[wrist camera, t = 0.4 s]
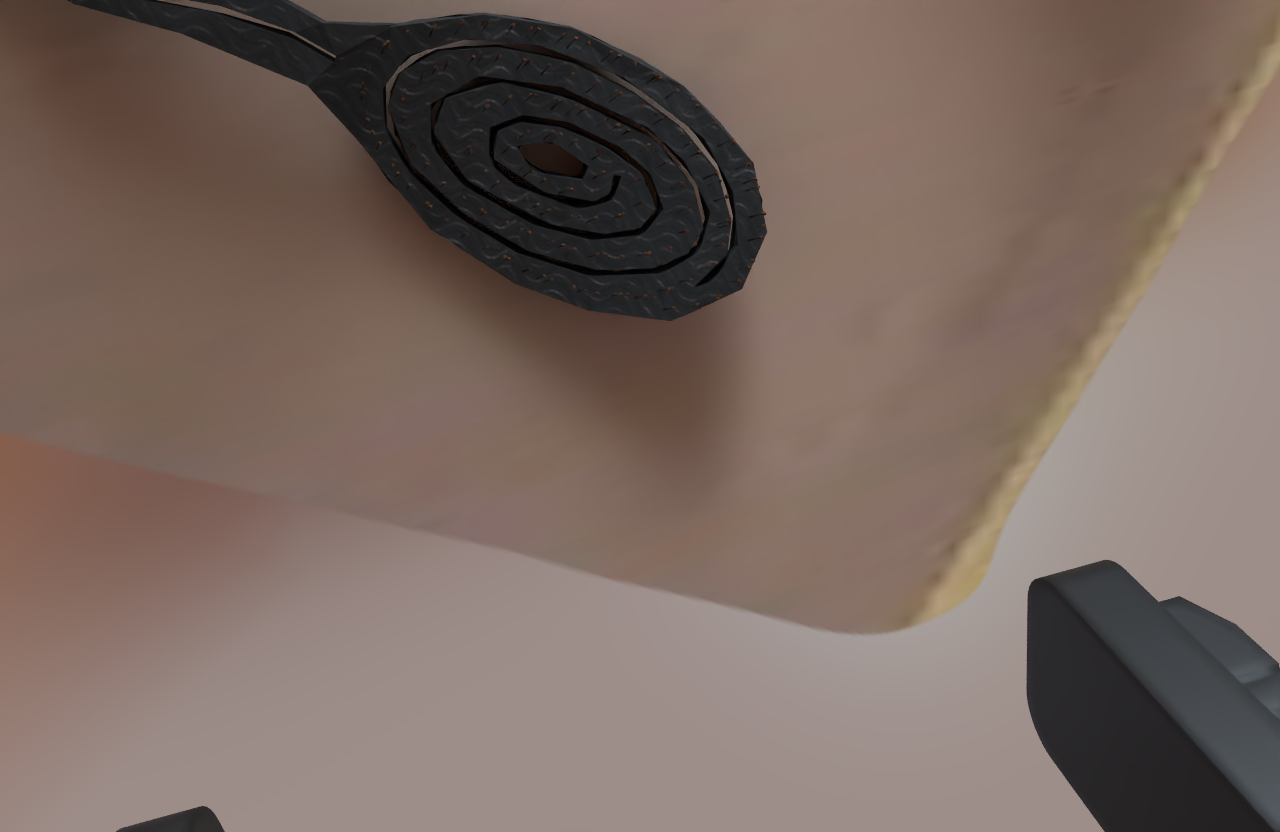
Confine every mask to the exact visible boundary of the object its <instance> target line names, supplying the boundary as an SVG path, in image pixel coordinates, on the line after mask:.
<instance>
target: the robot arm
mask: <svg viewBox="0 0 1280 832" xmlns="http://www.w3.org/2000/svg"><path fill="white" fill-rule="evenodd" d="M1027 700H1028V706H1029V710H1030V713H1031V717H1032V720H1033V723H1034V726H1035V729H1036V731H1037V733H1038V735H1039V738H1040V740H1041V742H1042V744H1043V746H1044V748H1045V749H1046V751H1047V753H1048V754H1049V756H1050V757H1051V758H1052V760H1053V761H1054V763H1055V764H1056V765H1057V767H1058V768H1059V770H1060V771H1061V772H1062V774H1063V775H1064V776H1065V778H1066V779H1067V781H1068V782H1069V783H1070V785H1071V786H1072V787H1073V789H1074V790H1075V791H1076V793H1077V794H1078V796H1079V797H1080V798H1081V800H1082V801H1083V803H1084V804H1085V805H1086V807H1087V808H1088V809H1089V811H1090V812H1091V814H1092V815H1093V816H1094V818H1095V819H1096V820H1097V822H1098V823H1099V825H1100V826H1101V827H1102V829H1103V830H1104V831H1105V832H1280V668H1279V663H1278V662H1277V661H1275V660H1274V659H1273V658H1272V657H1271V656H1270V655H1269V654H1268V653H1267V652H1265V650H1263V649H1262V648H1261V647H1260V646H1259V645H1258V644H1257V643H1256V642H1255V641H1254V640H1252V639H1251V638H1250V637H1249V636H1248V635H1247V634H1246V633H1245V632H1244V631H1243V630H1241V629H1240V628H1239V627H1238V626H1237V625H1236V624H1234V623H1232V622H1230V621H1228V620H1226V619H1224V618H1222V617H1220V616H1218V615H1216V614H1214V613H1212V612H1210V611H1208V610H1206V609H1204V608H1202V607H1200V606H1198V605H1196V604H1194V603H1192V602H1190V601H1188V600H1186V599H1184V598H1182V597H1175V598H1172V599H1168V600H1164V601H1161V602H1158V601H1157V600H1156V599H1155V598H1154V597H1153V596H1152V595H1151V594H1150V593H1149V592H1147V590H1145V589H1144V587H1143V586H1141V585H1140V584H1139V583H1138V582H1137V581H1136V580H1135V579H1134V578H1133V577H1132V576H1131V575H1130V574H1129V573H1128V572H1127V571H1126V570H1125V569H1124V568H1123V567H1122V566H1120V565H1119V564H1117V563H1116V562H1113V561H1110V560H1103V561H1099V562H1096V563H1092V564H1088V565H1085V566H1081V567H1078V568H1074V569H1070V570H1067V571H1063V572H1059V573H1056V574H1052V575H1048V576H1045V577H1041V578H1038V579H1035V580H1034V581H1033V582H1032V583H1031V585H1030V587H1029V591H1028V614H1027ZM116 832H224V830H223V828H222V826H221V824H220V822H219V820H218V819H217V817H216V815H215V814H214V813H213V812H212V811H211V810H210V809H209V808H208V807H205V806H201V807H197V808H193V809H190V810H186V811H182V812H179V813H175V814H171V815H168V816H164V817H161V818H157V819H153V820H150V821H146V822H142V823H139V824H135V825H132V826H128V827H124V828H121V829H119V830H118V831H116Z"/></svg>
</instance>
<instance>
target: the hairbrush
mask: <svg viewBox="0 0 1280 832" xmlns="http://www.w3.org/2000/svg"><path fill="white" fill-rule="evenodd" d="M68 1H70V2H71V3H73V4H77V5H80V6H84V7H87V8H91V9H95V10H98V11H102V12H105V13H109V14H113V15H116V16H120V17H123V18H127V19H131V20H134V21H138V22H141V23H145V24H149V25H152V26H156V27H160V28H163V29H167V30H171V31H174V32H178V33H181V34H184V35H186V36H188V37H191V38H193V39H196V40H198V41H201V42H203V43H205V44H208V45H210V46H213V47H215V48H218V49H220V50H222V51H225V52H227V53H230V54H232V55H235V56H237V57H239V58H242V59H244V60H247V61H249V62H251V63H254V64H256V65H259V66H261V67H264V68H266V69H268V70H271V71H273V72H276V73H278V74H281V75H283V76H285V77H288V78H290V79H293V80H295V81H298V82H300V83H302V84H305V85H307V86H308V87H309V88H310V89H311V90H312V91H313V92H314V93H315V94H316V95H317V96H318V98H319V99H320V100H321V101H322V102H323V103H324V104H325V105H326V106H327V107H328V108H329V109H330V111H331V112H332V113H333V114H334V115H335V116H336V117H337V118H338V119H339V120H340V121H341V122H342V124H343V125H344V126H345V127H346V128H347V129H348V130H349V131H350V132H351V133H352V134H353V135H354V137H355V138H356V139H357V140H358V141H359V142H360V144H361V145H362V146H363V147H364V149H365V150H366V151H367V152H368V153H369V155H370V156H371V157H372V158H373V160H374V161H375V162H376V163H377V165H378V166H379V168H380V169H381V171H382V172H383V173H384V175H385V176H386V178H387V179H388V181H389V182H390V183H392V184H393V185H394V186H395V187H396V188H397V189H398V190H399V191H400V192H401V194H402V195H403V196H404V197H405V199H406V200H407V201H408V202H409V203H410V205H411V206H412V207H413V208H414V210H415V211H416V212H417V213H418V214H419V216H420V217H421V218H422V219H423V221H424V222H425V223H426V224H427V225H428V227H429V228H430V229H432V230H433V231H435V232H436V233H438V234H439V235H441V236H442V237H444V238H445V239H447V240H449V241H450V242H452V243H453V244H455V245H456V246H458V247H459V248H461V249H463V250H464V251H466V252H467V253H469V254H470V255H472V256H473V257H475V258H477V259H478V260H480V261H481V262H483V263H484V264H486V265H487V266H489V267H491V268H492V269H494V270H495V271H497V272H498V273H500V274H501V275H503V276H504V277H506V278H508V279H509V280H511V281H512V282H514V283H515V284H518V285H521V286H523V287H526V288H529V289H531V290H534V291H537V292H540V293H542V294H545V295H548V296H550V297H553V298H556V299H558V300H561V301H564V302H567V303H569V304H572V305H575V306H577V307H580V308H583V309H586V310H589V311H597V312H604V313H612V314H620V315H628V316H635V317H643V318H651V319H659V320H666V321H672V320H674V319H677V318H679V317H682V316H684V315H686V314H689V313H691V312H694V311H696V310H698V309H700V308H702V307H704V306H706V305H709V304H711V303H713V302H715V301H717V300H719V299H721V298H724V297H726V296H728V295H730V294H732V293H734V292H736V291H739V290H741V289H742V288H743V285H744V283H745V281H746V278H747V276H748V274H749V272H750V269H751V267H752V265H753V263H754V262H755V258H756V256H757V253H758V251H759V249H760V247H761V244H762V242H763V240H764V237H765V235H766V233H767V230H766V224H765V220H764V215H766V213H765V212H764V211H763V209H762V198H761V195H760V193H759V189H758V188H759V187H760V186H758V184H757V181H758V180H757V179H756V174H755V169H754V164H753V162H752V161H751V160H750V159H749V157H748V156H747V155H746V154H745V153H744V151H743V150H742V149H741V148H740V146H739V145H738V144H737V143H736V142H735V140H734V139H733V138H732V137H731V135H730V134H729V133H728V132H727V131H726V129H725V128H724V127H723V126H722V124H721V123H720V122H719V121H718V120H717V119H716V118H715V117H714V116H713V115H712V114H711V113H710V112H709V111H708V110H707V109H706V108H705V107H704V106H703V105H702V104H701V103H700V102H699V101H698V100H697V99H696V98H695V97H694V96H693V95H692V94H691V93H690V92H689V91H688V90H687V89H686V88H685V87H684V86H682V85H681V84H680V83H678V82H677V81H675V80H673V79H672V78H670V77H669V76H667V75H666V74H664V73H662V72H661V71H659V70H658V69H656V68H654V67H653V66H651V65H650V64H648V63H646V62H645V61H643V60H642V59H640V58H638V57H636V56H634V55H631V54H629V53H627V52H625V51H622V50H620V49H618V48H616V47H613V46H611V45H609V44H608V43H606V42H604V41H602V40H600V39H598V38H596V37H594V36H591V35H589V34H587V33H584V32H582V31H580V30H577V29H575V28H572V27H569V26H564V25H559V24H554V23H549V22H544V21H539V20H534V19H529V18H521V17H513V16H508V15H496V14H487V13H475V14H458V15H452V16H445V17H438V18H431V19H419V20H413V21H409V22H404V23H398V24H396V23H361V22H327V21H325V20H323V19H321V18H320V17H318V16H316V15H314V14H312V13H311V12H309V11H307V10H305V9H303V8H302V7H300V6H298V5H296V4H294V3H293V2H291V1H289V0H191V1H197V2H202V3H208V4H214V5H219V6H223V7H225V8H228V9H231V10H234V11H237V12H239V13H242V14H245V15H248V16H251V17H253V18H256V19H259V20H262V21H265V22H267V23H270V24H273V25H276V26H279V27H282V28H284V29H287V30H290V31H293V32H295V33H297V34H299V35H300V36H302V37H304V38H306V39H308V40H309V41H311V42H313V43H315V44H316V45H318V46H320V47H322V48H323V49H325V50H327V51H329V52H330V53H332V54H334V55H336V58H334V57H332V56H330V55H328V54H327V53H325V52H323V51H321V50H320V49H318V48H316V47H314V46H313V45H311V44H309V43H307V42H306V41H304V40H302V39H300V38H298V37H297V36H295V35H293V34H291V33H290V32H287V31H283V30H280V29H276V28H273V27H269V26H266V25H262V24H259V23H255V22H252V21H248V20H245V19H241V18H238V17H234V16H230V15H227V14H223V13H218V12H213V11H208V10H203V9H198V8H193V7H188V6H183V5H178V4H172V3H167V2H162V1H157V0H68ZM464 39H468V40H485V41H496V42H507V43H519V44H530V45H536V46H541V47H545V48H548V49H551V50H553V51H556V52H558V53H561V54H564V55H566V56H569V57H572V58H574V59H577V60H580V61H582V62H585V63H588V64H590V65H593V66H595V67H598V68H601V69H603V70H606V71H609V72H611V73H614V74H616V75H617V76H619V77H621V78H622V79H624V80H626V81H627V82H629V83H630V84H632V85H633V86H635V87H636V88H638V89H640V90H641V91H642V92H644V93H645V94H646V95H648V96H649V97H650V98H652V99H653V100H654V101H656V102H657V103H658V104H660V105H661V106H662V107H664V108H665V109H666V110H668V111H669V112H670V113H671V114H673V115H674V116H675V117H677V118H678V119H679V120H681V121H682V122H683V123H685V124H686V125H687V126H689V128H690V129H691V130H692V131H693V132H694V133H695V135H696V136H697V137H698V138H699V140H700V141H701V142H702V144H703V145H704V147H705V148H706V149H707V151H708V152H709V154H710V155H711V156H712V158H713V159H714V160H715V162H716V163H717V165H718V167H719V170H720V173H721V176H722V178H723V181H724V184H725V186H726V189H727V193H728V195H725V197H724V193H723V190H722V186H721V181H722V180H720V179H719V175H718V172H717V170H716V169H715V168H714V166H713V165H712V164H711V162H710V161H709V160H708V159H707V157H706V156H705V155H704V154H703V153H702V151H701V150H700V149H699V148H698V146H697V145H696V144H695V143H694V142H693V140H692V139H691V138H690V137H689V135H688V134H687V133H686V132H685V131H684V129H682V128H681V127H680V126H679V125H678V124H676V123H675V122H673V121H672V120H671V119H669V118H668V117H667V116H665V115H664V114H663V113H661V112H660V111H658V110H657V109H656V108H654V107H653V106H652V105H650V104H649V103H648V102H646V101H645V100H643V99H642V98H641V97H639V96H638V95H637V94H635V93H634V92H632V91H630V90H629V89H627V88H625V87H623V86H621V85H619V84H617V83H615V82H613V81H611V80H609V79H607V78H606V77H604V76H602V75H600V74H598V73H596V72H594V71H592V70H590V69H588V68H586V67H584V66H582V65H580V64H578V63H576V62H574V61H572V60H567V59H562V58H558V57H553V56H548V55H543V54H539V53H534V52H529V51H524V50H520V49H515V48H510V47H505V46H501V45H484V46H461V47H453V48H445V49H437V50H434V51H432V52H430V53H428V54H426V55H424V56H422V57H420V58H419V59H418V60H416V61H415V62H414V63H412V64H411V65H410V66H408V67H407V68H405V69H404V70H403V71H402V72H400V73H399V74H398V75H397V78H396V80H395V82H394V85H393V87H392V89H391V92H390V93H391V95H390V100H389V105H388V107H389V110H390V113H391V117H392V120H393V123H394V131H395V135H396V136H397V137H398V139H399V140H400V143H401V145H402V148H403V150H404V152H405V154H406V156H407V158H408V160H409V162H410V164H411V165H412V166H413V167H414V168H416V169H417V170H418V171H419V172H420V173H421V174H422V175H423V176H424V177H425V178H426V179H427V180H428V181H430V182H431V183H432V184H433V185H434V186H435V187H436V188H437V189H438V190H439V191H440V192H441V193H443V194H444V195H445V196H446V197H447V198H448V199H449V200H450V201H451V202H452V203H453V204H454V205H455V206H457V207H458V208H459V209H460V210H461V211H462V212H463V213H464V214H466V215H468V216H469V217H471V218H473V219H475V220H476V221H478V222H480V223H481V224H483V225H485V226H486V227H488V228H490V229H491V230H493V231H495V232H496V233H498V234H500V235H501V236H503V237H505V238H507V239H508V240H507V239H505V238H503V237H501V236H498V235H496V234H494V233H492V232H490V231H488V230H486V229H484V228H482V227H480V226H478V225H476V224H473V223H472V222H471V221H470V220H469V219H468V218H466V217H465V216H464V215H463V214H462V213H461V212H460V211H458V210H457V209H456V208H455V207H454V206H453V205H452V204H450V203H449V202H448V201H447V200H446V199H445V198H443V197H442V196H441V195H440V194H439V193H438V192H437V191H435V190H434V189H433V188H432V187H431V186H430V185H429V184H427V183H426V182H425V181H424V180H423V179H422V178H420V177H419V176H418V175H417V174H416V173H415V172H414V171H413V170H412V169H411V167H410V165H409V164H408V162H407V160H406V159H405V157H404V155H403V154H402V152H401V150H400V149H399V147H398V145H397V144H396V142H395V140H394V139H393V137H392V135H391V134H390V132H389V130H388V128H387V116H386V83H387V82H388V81H389V79H390V78H391V77H392V75H393V74H394V73H395V71H396V70H397V69H398V67H399V66H400V65H402V64H403V63H404V62H405V61H406V60H407V59H408V58H410V57H411V56H412V55H415V54H417V53H420V52H422V51H425V50H428V49H431V48H435V47H439V46H442V45H446V44H449V43H453V42H457V41H460V40H464ZM483 78H499V79H500V80H495V81H490V82H485V83H481V84H478V85H475V86H472V87H469V88H466V89H463V90H459V91H456V92H453V93H450V92H452V91H454V90H455V89H457V88H459V87H461V86H462V85H464V84H466V83H467V82H470V81H473V80H476V79H483ZM503 79H506V80H503ZM507 80H514V81H521V82H529V83H536V84H543V85H551V86H556V87H559V88H561V89H563V90H566V91H568V92H571V93H573V94H576V95H578V96H581V97H583V98H585V99H588V100H590V101H592V102H594V103H596V104H599V105H601V106H603V107H605V108H607V109H609V110H611V111H613V112H616V113H618V114H620V115H622V116H624V117H626V118H628V119H631V120H633V121H635V122H637V123H638V124H640V125H642V126H643V127H645V128H647V129H648V130H650V131H652V132H653V133H654V134H655V135H656V136H658V137H659V138H660V140H661V141H662V142H663V143H664V144H665V145H666V146H667V148H668V149H669V150H670V151H671V152H672V153H673V154H674V156H675V157H676V158H677V159H678V160H679V161H680V162H681V164H682V165H683V166H684V167H685V168H686V169H687V171H688V172H689V174H690V175H691V176H692V178H693V179H694V181H695V183H696V184H697V186H698V190H699V195H700V199H701V203H702V207H703V211H704V215H705V220H704V224H703V225H702V221H701V217H700V212H699V208H698V204H697V199H696V196H695V192H694V188H693V186H692V185H691V183H690V182H689V180H688V179H687V178H686V176H685V175H684V173H683V172H682V171H681V170H680V169H679V168H678V166H677V165H676V164H675V163H674V161H673V160H672V158H671V157H670V156H669V155H668V154H667V153H666V152H665V151H664V150H663V149H662V148H661V147H660V146H659V145H658V144H657V143H656V142H655V140H653V139H652V138H650V137H648V136H647V135H646V134H645V133H644V132H643V131H641V130H639V129H637V128H635V127H633V126H631V125H629V124H627V123H625V122H623V121H621V120H619V119H616V118H614V117H612V116H610V115H608V114H606V113H604V112H602V111H600V110H598V109H596V108H593V107H591V106H589V105H587V104H585V103H583V102H581V101H579V100H577V99H575V98H572V97H569V96H565V95H562V94H558V93H555V92H551V91H548V90H544V89H539V88H535V87H531V86H527V85H523V84H519V83H515V82H511V81H507ZM449 93H450V94H449ZM443 96H445V97H444V98H443V99H442V102H441V104H440V107H439V109H438V112H437V114H436V116H435V127H434V134H435V136H436V137H437V139H438V141H439V142H440V144H441V146H442V147H443V149H444V151H445V152H446V153H447V155H448V156H449V157H450V159H451V161H452V162H453V163H454V164H455V165H456V166H457V168H458V169H459V170H460V171H461V173H462V174H463V175H464V176H465V177H463V176H462V175H461V174H459V173H458V172H457V171H455V170H454V169H452V168H451V167H450V166H448V165H447V164H446V162H445V161H444V160H443V159H442V157H441V154H440V151H439V148H438V145H437V143H436V140H435V137H434V134H433V131H432V128H431V109H432V108H433V107H434V105H435V104H436V102H437V101H438V99H440V98H442V97H443ZM519 116H534V117H540V118H546V119H552V120H558V121H564V122H569V123H572V124H574V125H576V126H578V127H580V128H582V129H584V130H586V131H588V132H590V133H592V134H594V135H596V136H598V137H600V138H602V139H604V140H607V141H609V142H611V143H613V144H615V145H616V146H618V147H620V148H621V149H623V150H624V151H625V152H626V153H627V154H629V155H630V156H631V157H632V158H633V159H634V160H635V161H636V162H638V163H639V164H640V165H641V166H642V167H643V168H644V169H645V171H646V172H647V174H648V175H649V177H650V178H651V181H652V183H653V186H654V189H655V191H656V194H657V211H656V213H655V214H654V215H653V216H652V217H650V216H651V214H652V213H653V212H654V211H655V209H656V207H655V204H654V200H653V197H652V194H651V192H650V190H649V186H648V184H647V182H646V181H645V179H644V177H643V175H642V173H641V172H639V171H638V170H637V169H636V168H634V167H633V166H632V165H631V164H630V163H629V162H628V161H627V160H626V159H625V158H624V157H622V156H621V155H620V154H619V153H618V152H617V151H615V150H613V149H612V148H610V147H608V146H606V145H604V144H602V143H600V142H599V141H597V140H595V139H593V138H591V137H589V136H587V135H586V134H584V133H582V132H580V131H576V130H573V129H569V128H565V127H561V126H557V125H553V124H549V123H545V122H542V121H538V120H534V119H530V118H524V119H520V120H516V121H512V122H508V123H505V124H503V125H500V124H501V123H502V122H505V121H508V120H511V119H513V118H516V117H519ZM499 125H500V126H499ZM496 127H497V129H496V131H495V133H494V136H493V138H492V150H493V153H494V160H496V161H497V162H498V163H500V164H501V165H503V166H504V167H506V168H507V169H508V170H510V171H511V172H513V173H514V174H516V175H517V176H519V177H520V178H521V179H523V180H524V181H526V182H527V183H529V184H531V185H533V186H534V187H536V188H538V189H540V190H542V191H543V192H545V193H550V194H556V195H561V196H567V197H572V198H578V199H583V200H571V199H557V198H555V197H552V196H550V195H548V194H545V193H543V192H540V191H538V190H536V189H533V188H531V187H528V186H526V185H524V184H521V183H519V182H516V181H514V180H513V179H512V178H511V177H509V176H508V175H507V174H506V173H505V172H504V171H502V170H501V169H500V168H499V167H498V166H497V165H495V164H494V162H493V159H492V156H491V154H490V151H489V139H490V132H492V131H493V130H494V129H495V128H496ZM536 143H551V144H556V145H557V146H559V147H560V148H562V149H563V150H565V151H566V152H568V153H569V154H571V155H572V156H574V157H575V158H577V159H579V160H580V161H582V163H583V168H582V170H581V172H580V174H579V175H578V176H570V175H565V174H561V173H556V172H552V171H547V170H543V169H539V168H537V167H536V166H534V165H532V164H531V163H530V162H529V161H528V160H527V159H525V158H524V157H523V155H522V154H521V152H520V145H527V144H536ZM614 175H615V177H616V184H615V186H614V187H613V188H612V190H611V186H612V182H613V177H614ZM474 184H475V185H474ZM477 186H478V187H480V188H482V189H484V190H486V191H488V192H490V193H492V194H494V195H495V196H497V197H499V198H501V199H503V200H505V201H507V202H509V203H511V204H513V205H514V206H516V207H518V208H520V209H522V210H524V211H526V212H528V213H530V214H532V215H533V216H535V217H537V218H535V217H533V216H531V215H528V214H526V213H523V212H521V211H518V210H516V209H513V208H511V207H508V206H506V205H503V204H501V203H499V202H497V201H496V200H495V199H493V198H492V197H490V196H489V195H488V194H486V193H485V192H484V191H482V190H481V189H480V188H478V187H477ZM607 194H608V195H607ZM605 195H607V197H606V198H605V200H604V201H596V200H598V199H600V198H602V197H603V196H605ZM725 198H726V199H727V198H729V201H730V205H731V209H732V213H733V222H732V231H731V239H730V247H729V250H728V243H729V235H730V226H731V218H730V214H729V211H728V207H727V204H726V200H725ZM649 217H650V218H649ZM538 218H539V219H538ZM648 218H649V219H648ZM540 219H541V220H540ZM647 219H648V220H647ZM646 220H647V221H646ZM555 225H556V226H555ZM558 226H562V227H568V228H574V229H579V230H585V231H591V233H576V232H571V231H568V230H565V229H563V228H560V227H558ZM631 229H635V230H634V231H627V232H620V231H625V230H631ZM699 235H700V236H699ZM698 236H699V239H698V242H697V245H696V246H694V247H693V248H692V246H693V244H694V243H695V241H696V239H697V238H698ZM509 240H510V241H509ZM511 241H512V242H511ZM536 253H537V254H536ZM538 254H541V255H544V256H548V257H551V258H555V259H559V260H562V261H566V262H570V263H573V264H577V265H580V266H577V265H570V264H564V263H558V262H553V261H551V260H549V259H546V258H544V257H542V256H540V255H538ZM669 261H670V262H669ZM667 262H669V263H667ZM665 263H667V264H665ZM662 264H664V265H662ZM583 266H584V267H583ZM615 269H630V270H623V271H617V272H615V271H609V270H615Z"/></svg>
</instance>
